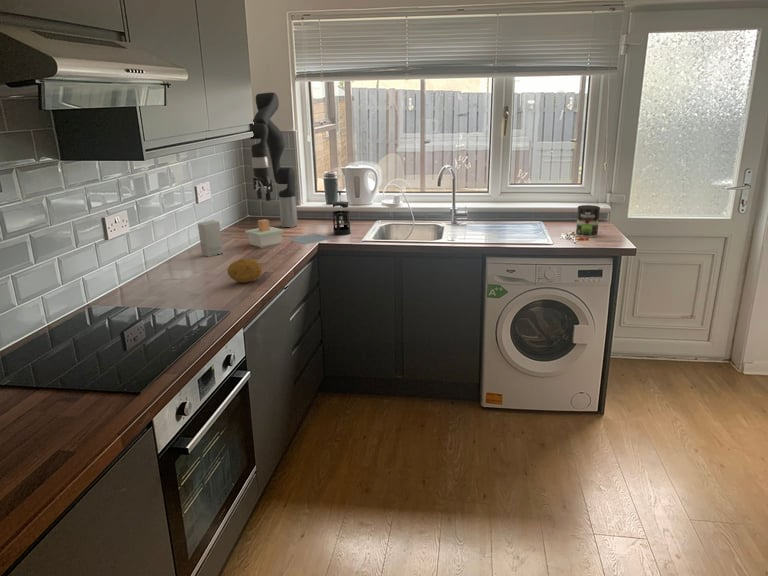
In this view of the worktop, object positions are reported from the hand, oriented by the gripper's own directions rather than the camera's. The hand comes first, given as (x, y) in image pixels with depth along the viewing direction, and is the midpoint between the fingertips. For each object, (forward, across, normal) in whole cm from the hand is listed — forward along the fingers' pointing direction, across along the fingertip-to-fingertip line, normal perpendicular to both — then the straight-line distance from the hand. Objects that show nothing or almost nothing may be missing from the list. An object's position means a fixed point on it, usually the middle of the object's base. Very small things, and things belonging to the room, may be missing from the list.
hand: (264, 199), depth 284 cm
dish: (+22, +1, -2) cm, 22 cm away
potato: (+21, +53, -41) cm, 71 cm away
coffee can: (+23, +108, +117) cm, 161 cm away
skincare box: (+22, 0, -30) cm, 37 cm away
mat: (+22, +9, +19) cm, 30 cm away
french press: (+23, +12, +38) cm, 46 cm away
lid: (+16, +1, -2) cm, 16 cm away
